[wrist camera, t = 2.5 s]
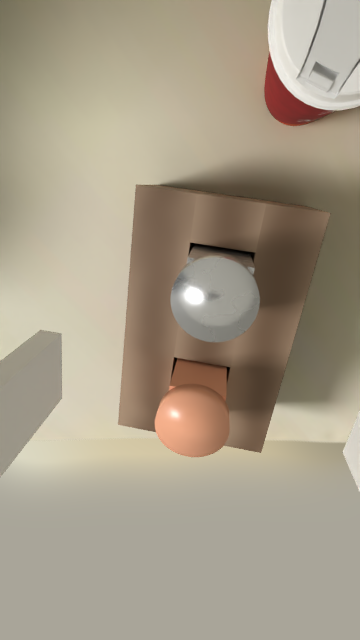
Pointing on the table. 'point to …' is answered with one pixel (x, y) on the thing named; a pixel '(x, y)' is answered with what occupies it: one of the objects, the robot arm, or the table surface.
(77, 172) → the table surface
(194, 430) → the terracotta button
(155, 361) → the button console
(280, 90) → the paper cup
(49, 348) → the robot arm
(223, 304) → the grey button
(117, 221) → the table surface
